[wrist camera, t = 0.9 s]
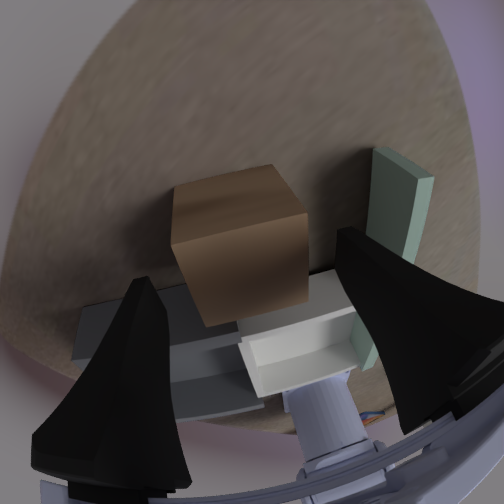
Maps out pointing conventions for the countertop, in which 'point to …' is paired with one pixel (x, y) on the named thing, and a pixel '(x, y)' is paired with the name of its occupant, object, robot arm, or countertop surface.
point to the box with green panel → (337, 292)
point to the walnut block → (241, 244)
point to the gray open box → (185, 357)
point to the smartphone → (370, 417)
